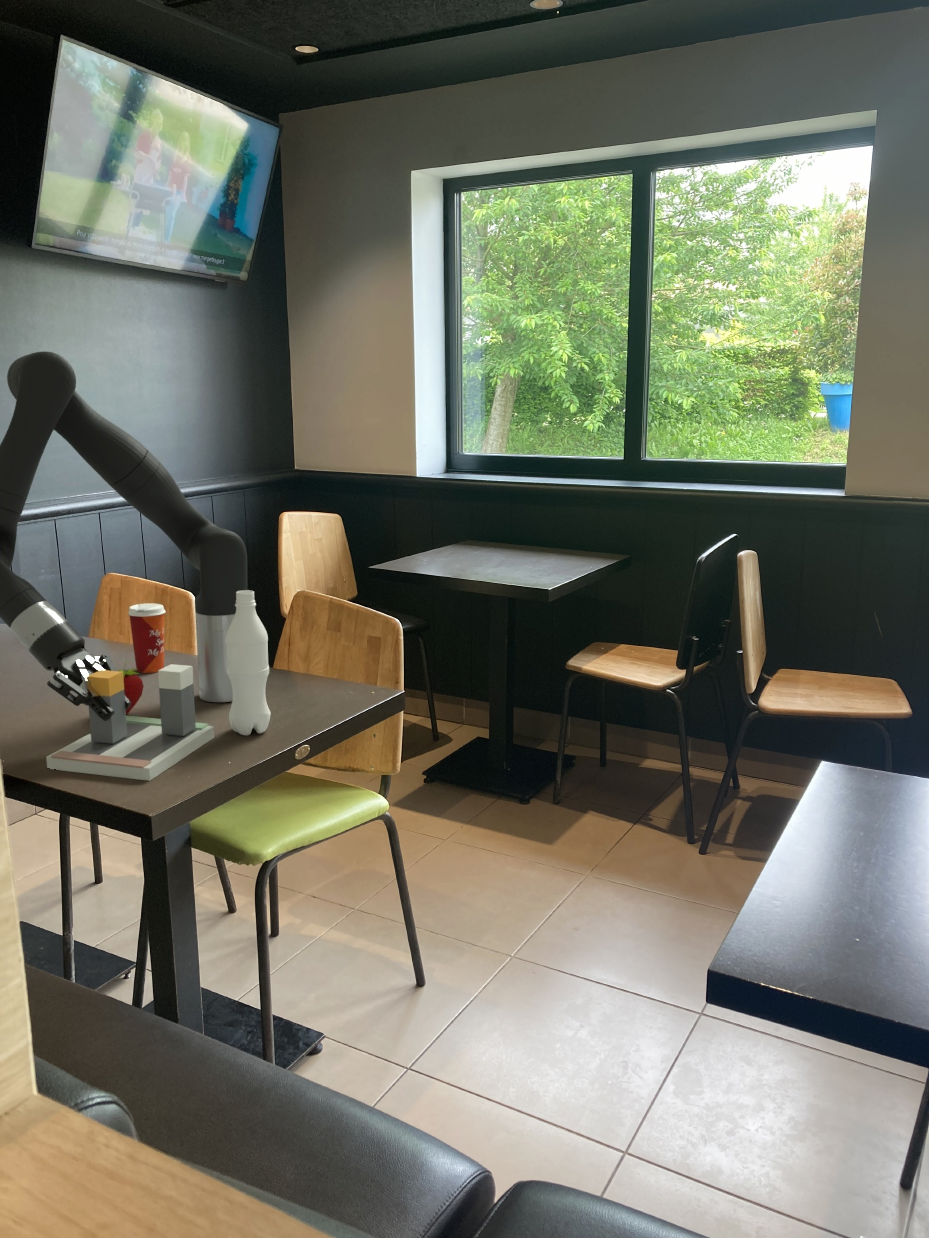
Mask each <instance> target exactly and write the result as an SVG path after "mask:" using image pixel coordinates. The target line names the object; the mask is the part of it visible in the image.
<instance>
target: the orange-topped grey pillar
mask: <svg viewBox="0 0 929 1238" xmlns="http://www.w3.org/2000/svg"><path fill="white" fill-rule="evenodd" d="M86 677H88V679H89V680H90V681H91V686H92V687H93V688H94V689H95V690H96V692H97V694H98V696H101V697H102V698H103V700H104V701H105V702H106V703H107V704H108V705H109V706H110V707H111V708H112V709H113V710H114V715H113V716H112V717H111V718H110V719H109V720H107V721H104V720H103V719H101V718H100V717H99V716H98V715H97V714H96V713H95V712H94V711H93V710H92V709H91V707H90V706H89V705H88V712H89V713H88V715H89V716H88V717H89V729H90V733H91V741H93V742H103V743H112V744H113V743H115V742H117V741H119V740H120V739H122V738H124V737H126V736H127V723H126V716H127V714H126V710H125V694H124V679H123V672H120V671H119V670H117V671H109V670H100V671H98V672H95V673H93V674H91V675H89V676H86ZM98 696H97V697H98Z"/></svg>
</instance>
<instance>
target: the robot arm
mask: <svg viewBox="0 0 929 1238" xmlns="http://www.w3.org/2000/svg"><path fill="white" fill-rule="evenodd" d="M73 368H74V367H72V365H71V364H70V363H69V361H68V360H67V359H66V358H64V357H63V356H62V355H61V354H58V353H55V352H53V351H36V352H31V353H28V354H26V355H23V356H20V357H18V358H16V359H15V360H14V361H13V362H12V363H11V364H10V366H9V368H8V371H7V374H6V375H7V376H6V381H7V385H8V388H9V391H10V393H11V395H12V396H13V398H14V399H15V406H14V410H13V414H12V416H11V419H10V422H9V425H8V427H7V430H6V432H5V434H4V436H3V439H2V441H1V443H0V619H1V620H2V621H3V622H4V624H5V625H7V626H8V628H10V630H11V631H12V633H14V635H15V636H16V638H17V640H18V641H19V642H20V643H21V644H22V645H23V647H24V648H26V650H27V651H28V652H29V653H30V654H31V655H32V656H33V657H34V659H35V660H37V662H38V664H40V665H41V666H42V667H43V668H44V669H45V670H46V671H48V672H49V671H50V672H51V671H53V673H54V674H53V675H52V677H51V678H49V680H48V681H47V683H46V685H47V686H48V687H49V688H50V689H52V690H53V691H55V692H56V693H57V694H59V695H60V696H62V697H63V698H65V699H66V700H67V701H69V702H70V703H72V704H73V705H74V706H76V707H79V706H81V704H82V705H85V706H87V707H89V706H90V707H91V709H92V710H93V711H94V712H95V713H96V714H97V715H98V716H99V717H100V718H101V719H103V720H104V721H107V720H109V719H110V718H111V717H112V716H113V715H114V710H113V709H112V708H111V707H110V706H109V705H108V704H107V703H106V702H105V701H104V700H103V698H102V697H101V696H98V694H97V692H96V690H95V689H94V688H93V687H92V686H91V681H90V680H89V679H88V677H86V676H89V675H91V674H93V673H95V672H98V671H100V670H109V671H118V670H117V668H116V666H115V664H114V663H113V660H111V657H110V656H109V654H107V653H106V652H104V653H102V654H101V655H100V656H94V654H93V653H91V652H89V651H88V650H87V649H86V647H85V644H86V641H85V639H84V638H83V636H82V635H81V634H80V633H79V632H78V631H77V630H76V629H75V628H74V626H72V625H71V623H70V622H69V621H68V620H67V619H66V618H65V617H64V616H63V615H62V613H60V611H59V610H57V608H56V607H54V606H53V605H52V604H50V602H48V601H47V600H46V598H45V597H44V596H43V595H42V594H41V593H40V592H39V590H37V589H36V588H35V587H34V586H33V585H32V583H30V582H29V581H28V580H26V579H24V578H23V577H21V576H19V575H17V574H16V573H15V572H14V571H12V570H11V567H12V564H13V561H14V557H15V556H14V555H15V552H16V551H15V550H16V543H17V536H18V534H17V533H18V524H19V522H20V519H21V516H22V513H23V510H24V509H25V508H24V507H25V504H26V501H27V499H28V496H29V494H30V491H31V489H32V484H33V481H34V480H35V479H34V478H35V475H36V473H37V470H38V468H39V465H40V463H41V462H40V461H41V459H42V456H43V453H44V452H45V449H46V447H47V444H48V442H49V440H50V438H51V435H52V433H53V431H55V432H56V433H57V434H58V435H60V437H62V438H63V439H64V440H65V441H66V442H67V443H68V444H69V445H70V446H71V448H73V449H74V450H75V452H76V453H77V454H78V455H79V456H80V457H81V458H82V459H83V460H84V461H85V462H86V463H87V464H88V465H89V466H90V467H91V469H93V470H94V471H95V472H96V473H97V474H98V475H99V476H100V478H102V480H103V481H105V482H106V483H107V485H108V486H109V487H111V488H112V489H113V490H114V491H115V492H116V493H117V494H118V495H119V496H120V497H121V498H123V499H124V500H125V501H126V502H127V503H128V504H130V506H132V507H133V508H134V509H135V510H136V511H138V512H139V513H140V514H141V515H142V516H144V517H145V518H147V520H148V521H151V522H152V523H153V524H154V525H156V526H157V527H158V528H159V529H160V530H161V531H162V532H163V533H164V534H165V535H166V536H167V537H168V538H169V539H170V540H171V542H172V543H173V544H174V545H175V546H176V547H177V549H179V551H180V552H181V553H182V555H183V556H184V557H185V558H186V559H187V561H189V563H190V564H191V565H192V566H193V567H194V568H195V569H196V570H198V571H199V579H200V583H199V584H200V589H199V593H198V595H196V596H195V598H194V613H195V632H196V633H195V636H196V637H195V638H196V654H197V674H198V675H197V676H198V693H199V694H198V695H199V699H201V701H205V702H209V703H211V702H212V703H227V702H228V703H229V702H230V703H231V702H232V700H233V690H232V684H231V681H230V678H229V676H228V674H227V645H226V634H227V631H228V629H229V627H230V624H231V622H232V621H233V619H234V616H235V613H236V606H235V604H236V600H237V599H236V592H237V591H242V590H248V554H247V548H246V545H245V542H244V540H243V539H242V538H241V537H240V536H239V535H238V534H237V533H236V532H234V531H232V530H229V529H225V528H223V527H222V528H221V527H219V526H217V525H216V524H214V523H213V522H211V520H209V519H208V518H206V516H204V515H203V514H202V513H201V512H199V511H198V510H197V509H196V508H195V507H194V506H193V505H192V504H191V503H190V502H189V500H188V499H187V498H186V497H185V496H184V493H183V492H182V491H181V489H180V487H179V486H178V485H177V482H176V480H175V479H174V478H173V476H172V475H171V473H170V472H169V471H168V470H167V468H166V467H165V466H164V465H163V464H162V462H161V461H159V459H157V458H156V456H155V455H154V454H152V452H151V451H149V449H148V448H147V447H145V445H143V444H142V443H141V441H138V439H136V438H135V437H133V436H132V435H131V434H129V433H128V432H126V431H125V430H124V429H122V428H121V427H120V426H118V425H116V424H114V423H113V422H112V421H110V420H108V419H107V418H105V417H104V416H103V415H101V414H100V413H98V412H97V411H96V410H94V408H93V407H91V406H90V405H89V404H88V403H87V401H86V400H84V398H83V397H81V395H80V394H79V393H78V392H77V391H76V387H77V378H76V377H77V376H76V373H75V370H74V369H73ZM71 691H72V692H73V693H71ZM97 696H98V697H97ZM130 706H131V702H130V701H129V699H128V698H127V697H126V696H125V710H127V709H128V708H129V707H130Z"/></svg>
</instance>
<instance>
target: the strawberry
mask: <svg viewBox="0 0 929 1238" xmlns="http://www.w3.org/2000/svg"><path fill="white" fill-rule="evenodd" d="M127 662H128V661H127V660H126V661H125V665H124V668H123V669H124V670H122V669H119V670H118V671H120V672H123V679H124V694H125V696H126V697H127V698H128V699H129V701H130V702H131V706H130V707H129V708H128V709H127V710H126V715H128V714H129V713H131V711H132V709H133V708H134V707H135V706H136V705H137V703H138V702H139V700H140V698H141V697H142V695H143V691H144V683H143V679H141V678H140V676H138V675H140V672H137V670H138V669H136V668H135V669H134V668H133V669H132V668H131V669H128V670H127V671H126V667H127Z"/></svg>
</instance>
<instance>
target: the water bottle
mask: <svg viewBox="0 0 929 1238" xmlns="http://www.w3.org/2000/svg"><path fill="white" fill-rule="evenodd" d="M236 599H237V600H236V604H235V606H236V613H235V616H234V619H233V621H232V622H231V624H230V627H229V629H228V631H227V634H226V645H227V674H228V676H229V678H230V681H231V684H232V690H233V700H232V701H231V705H230V710H229V713H228V720H229V723H230V727H231V729H232V730H233V732H235V733H238V734H240V735H242V736H249V735H251V733H252V730H253V729H254V730H255V731H256V733H257V734H263V733H264V732H266V730H267V728H268V727H269V724H270V720H271V715H272V713H271V710H270V709H269V706H268V703H267V696H266V685H267V680H268V677H269V674H270V665H269V652H268V651H269V649H268V641H269V637H268V636H269V635H268V632H267V630H266V627H265V626H264V624H263V622H262V621H261V619H260V617H259V616H258V614H257V611H256V606H257V603H256V600H255V591H253V590H249V589H247V590H242V591H237V592H236Z"/></svg>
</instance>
